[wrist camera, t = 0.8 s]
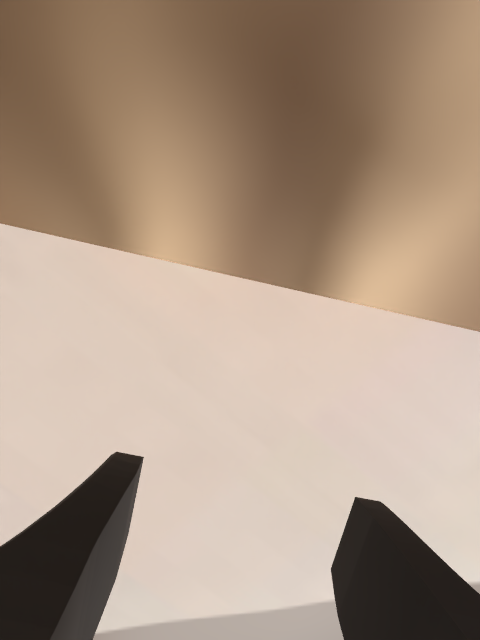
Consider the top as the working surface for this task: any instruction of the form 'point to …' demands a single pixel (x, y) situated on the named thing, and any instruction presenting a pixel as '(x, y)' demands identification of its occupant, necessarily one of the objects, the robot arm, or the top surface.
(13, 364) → the top surface
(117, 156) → the box lid
